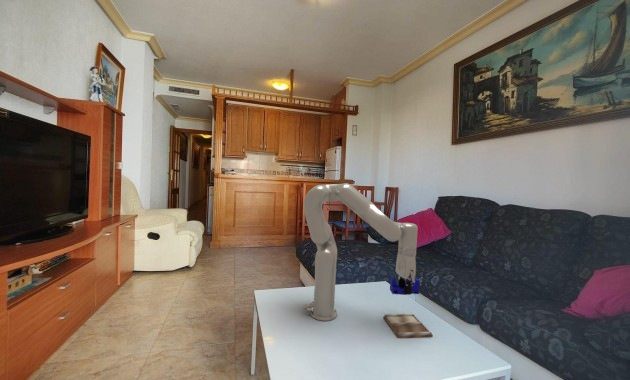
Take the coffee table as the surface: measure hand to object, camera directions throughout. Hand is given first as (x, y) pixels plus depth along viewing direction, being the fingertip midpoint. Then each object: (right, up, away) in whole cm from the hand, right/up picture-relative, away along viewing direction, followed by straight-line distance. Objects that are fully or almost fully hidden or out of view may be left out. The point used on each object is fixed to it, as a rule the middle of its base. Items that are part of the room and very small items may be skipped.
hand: (404, 291), depth 117 cm
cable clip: (0, -1, 0) cm, 1 cm away
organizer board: (0, -14, -3) cm, 15 cm away
